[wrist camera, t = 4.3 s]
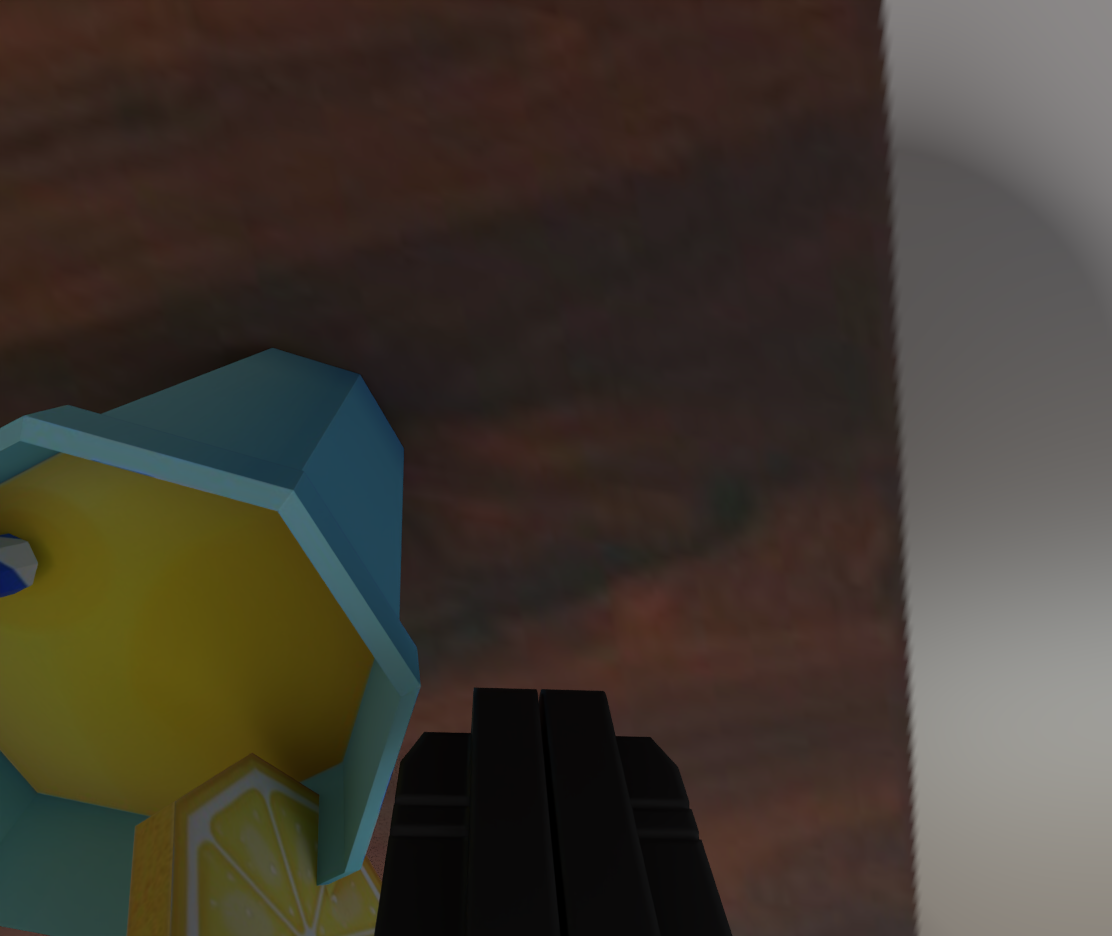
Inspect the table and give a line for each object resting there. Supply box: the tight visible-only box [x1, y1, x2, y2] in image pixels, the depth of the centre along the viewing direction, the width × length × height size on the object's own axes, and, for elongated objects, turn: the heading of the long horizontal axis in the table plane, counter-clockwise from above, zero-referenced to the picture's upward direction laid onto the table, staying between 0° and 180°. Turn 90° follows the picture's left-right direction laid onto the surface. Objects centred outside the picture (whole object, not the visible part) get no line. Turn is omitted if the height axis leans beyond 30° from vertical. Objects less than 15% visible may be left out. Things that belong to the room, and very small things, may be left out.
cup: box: [0, 348, 421, 936], centre depth 13 cm, size 14×8×15 cm, turn 49°
